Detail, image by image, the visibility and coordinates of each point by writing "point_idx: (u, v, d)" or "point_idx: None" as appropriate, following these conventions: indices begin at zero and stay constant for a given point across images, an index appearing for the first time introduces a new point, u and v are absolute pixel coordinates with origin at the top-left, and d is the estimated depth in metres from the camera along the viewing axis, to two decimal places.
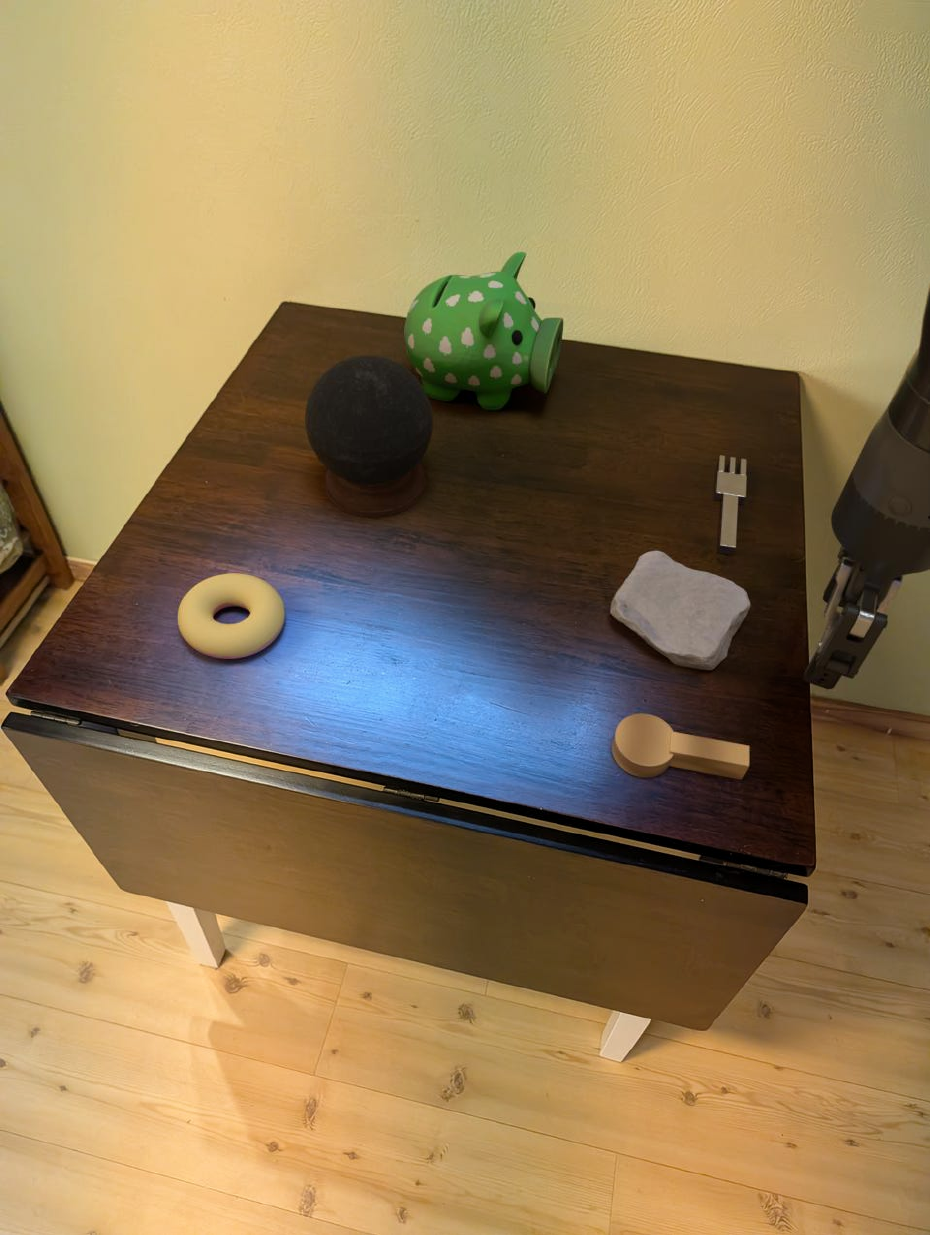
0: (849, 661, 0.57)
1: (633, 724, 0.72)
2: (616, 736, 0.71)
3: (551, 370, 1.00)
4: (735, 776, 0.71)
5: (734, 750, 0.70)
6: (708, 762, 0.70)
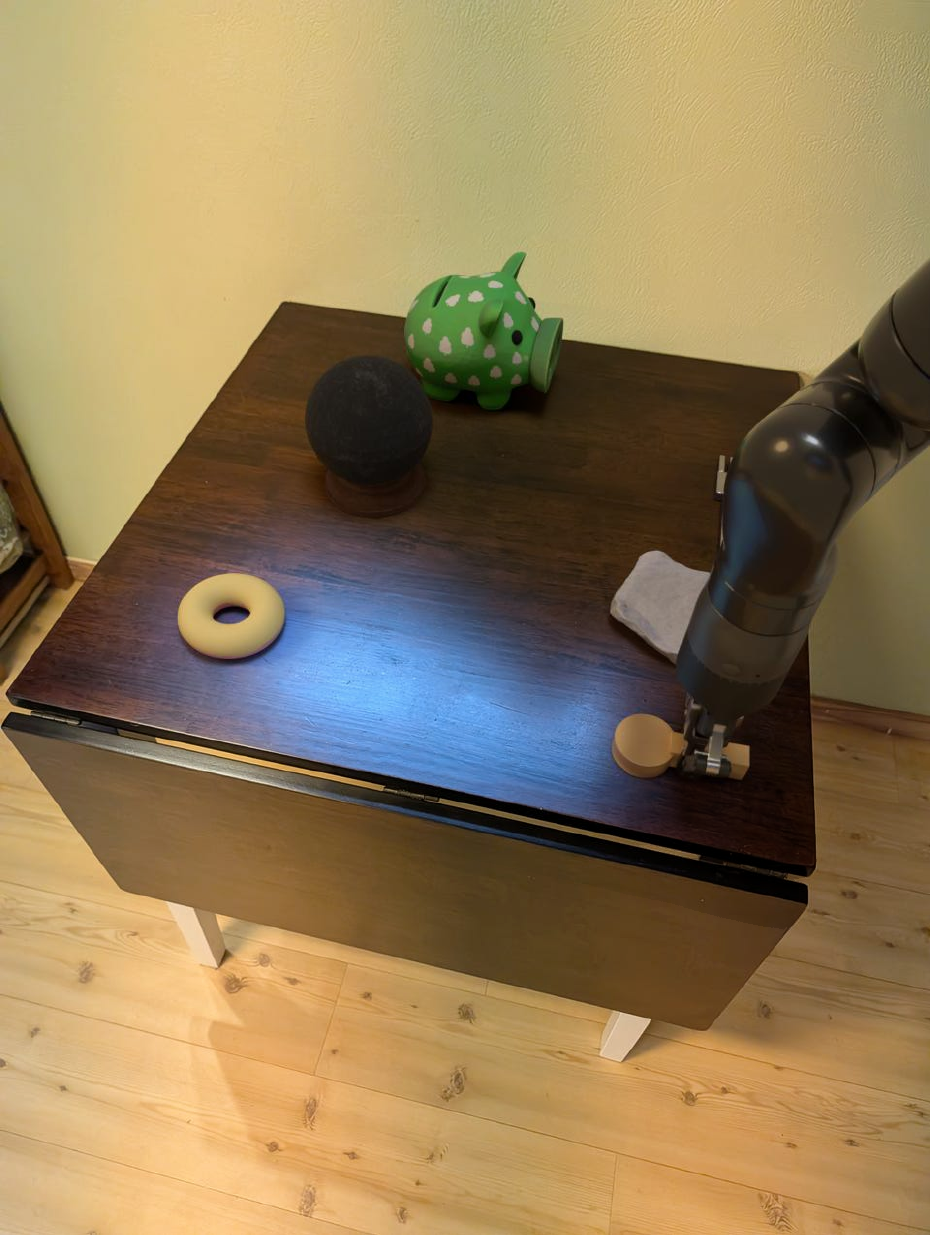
0: None
1: (633, 724, 0.72)
2: (615, 736, 0.71)
3: (551, 370, 1.00)
4: (735, 776, 0.71)
5: (734, 750, 0.70)
6: None
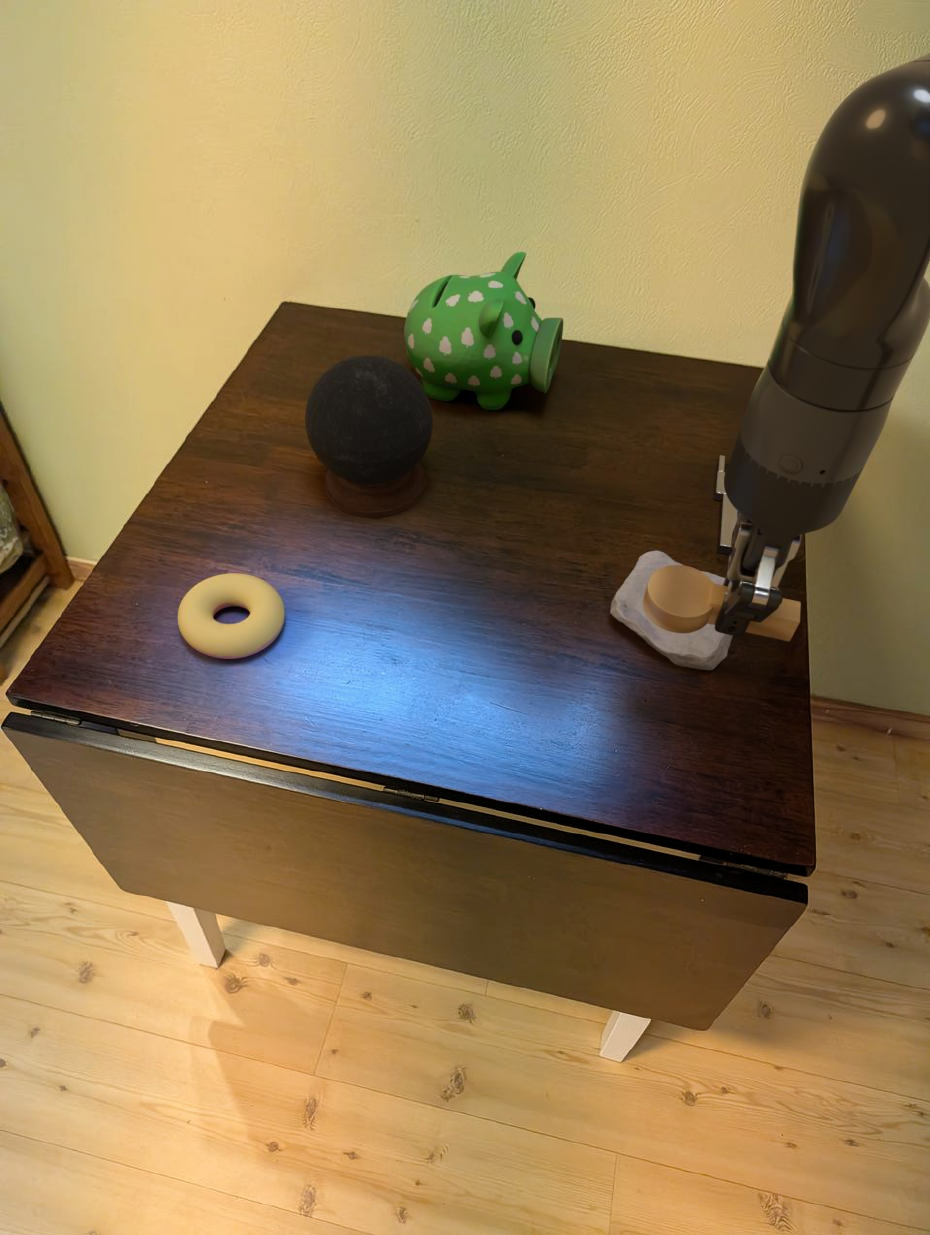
0: None
1: (669, 575, 0.64)
2: (648, 585, 0.63)
3: (551, 370, 1.00)
4: (782, 636, 0.62)
5: (783, 605, 0.62)
6: None
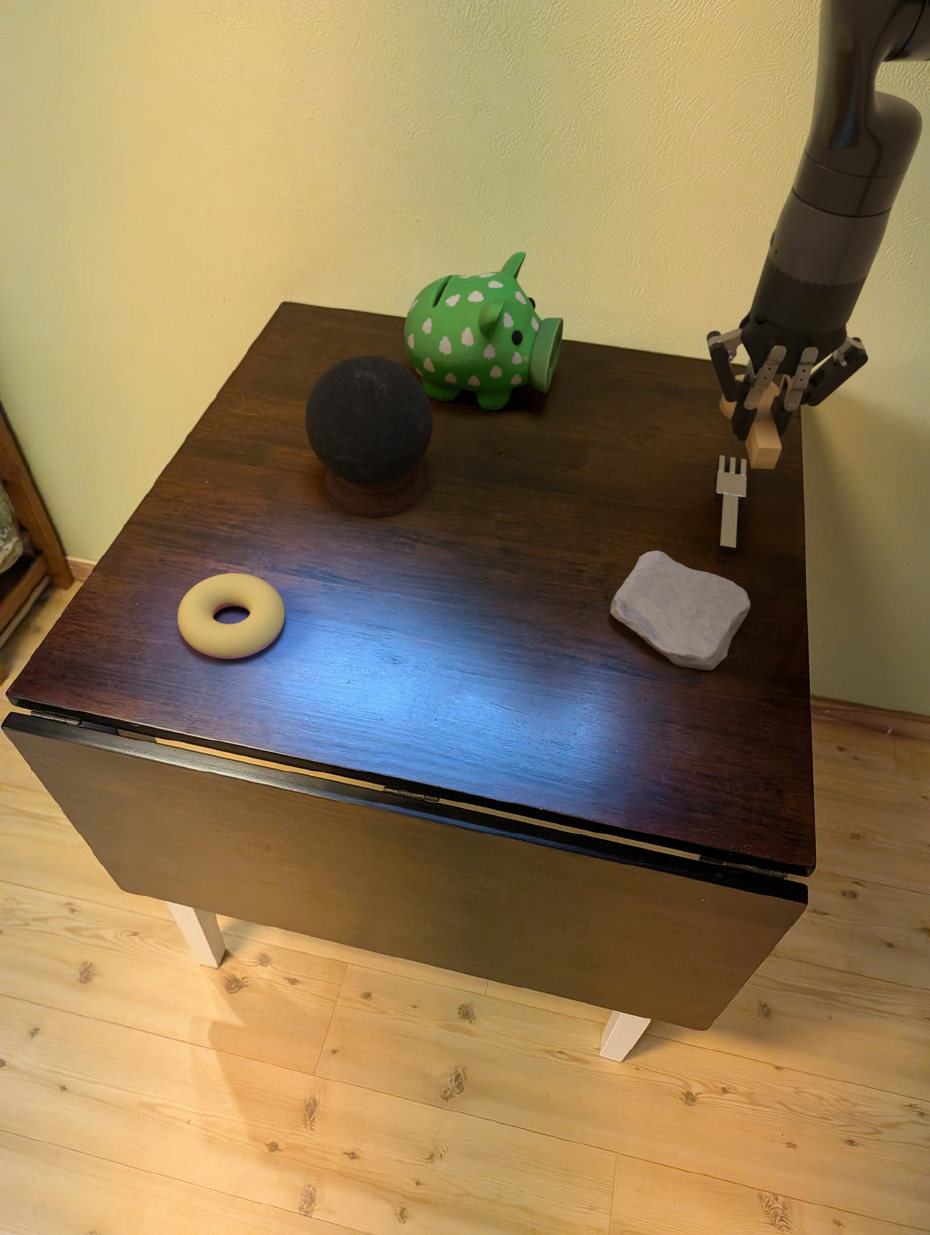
0: None
1: None
2: None
3: (551, 370, 1.00)
4: (751, 460, 0.74)
5: (771, 438, 0.73)
6: (751, 428, 0.75)
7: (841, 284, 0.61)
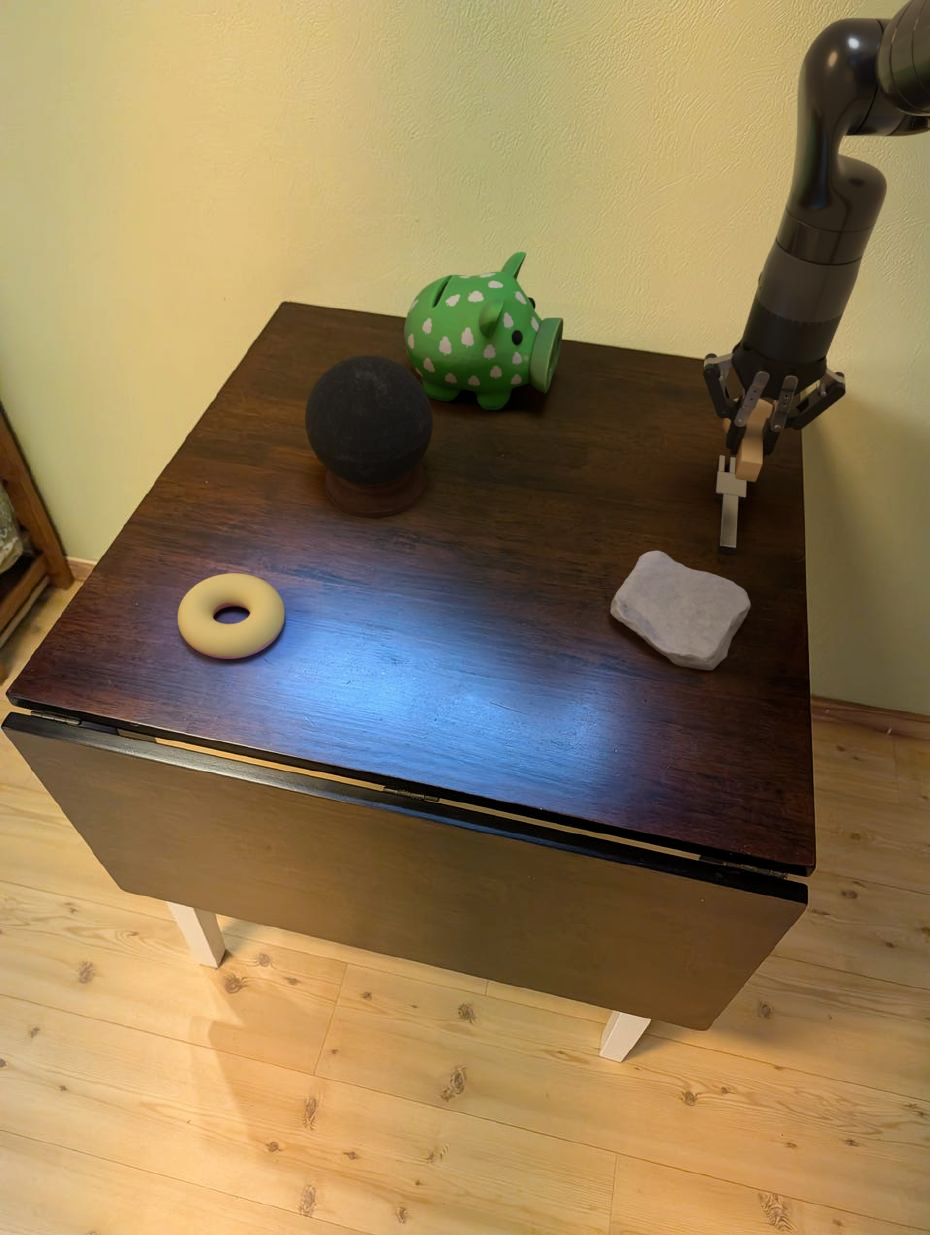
0: None
1: (765, 407, 0.87)
2: None
3: (551, 370, 1.00)
4: (736, 472, 0.83)
5: (754, 454, 0.82)
6: None
7: (811, 322, 0.70)
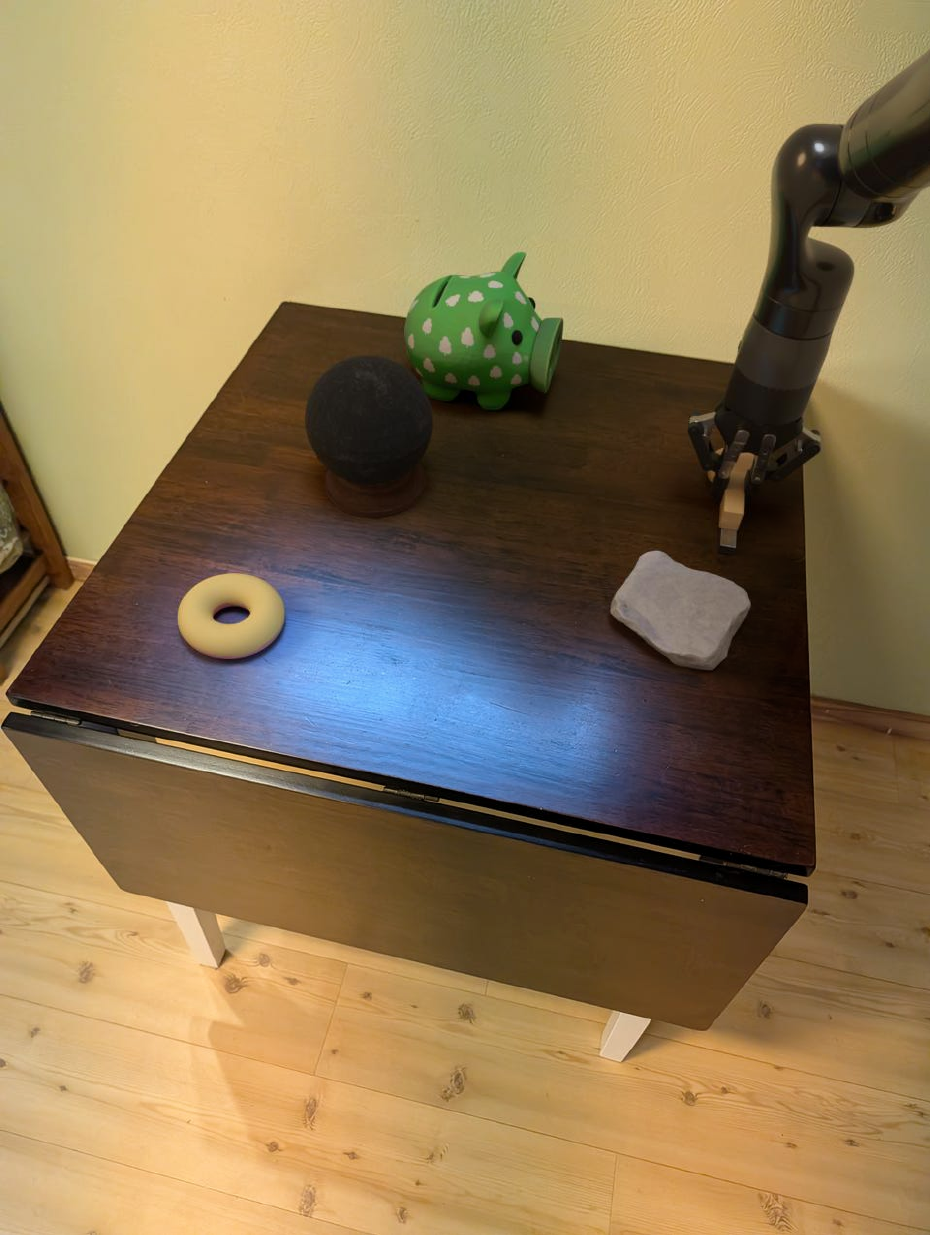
0: None
1: (747, 457, 0.92)
2: None
3: (551, 370, 1.00)
4: (719, 520, 0.89)
5: (736, 504, 0.87)
6: None
7: (787, 389, 0.75)
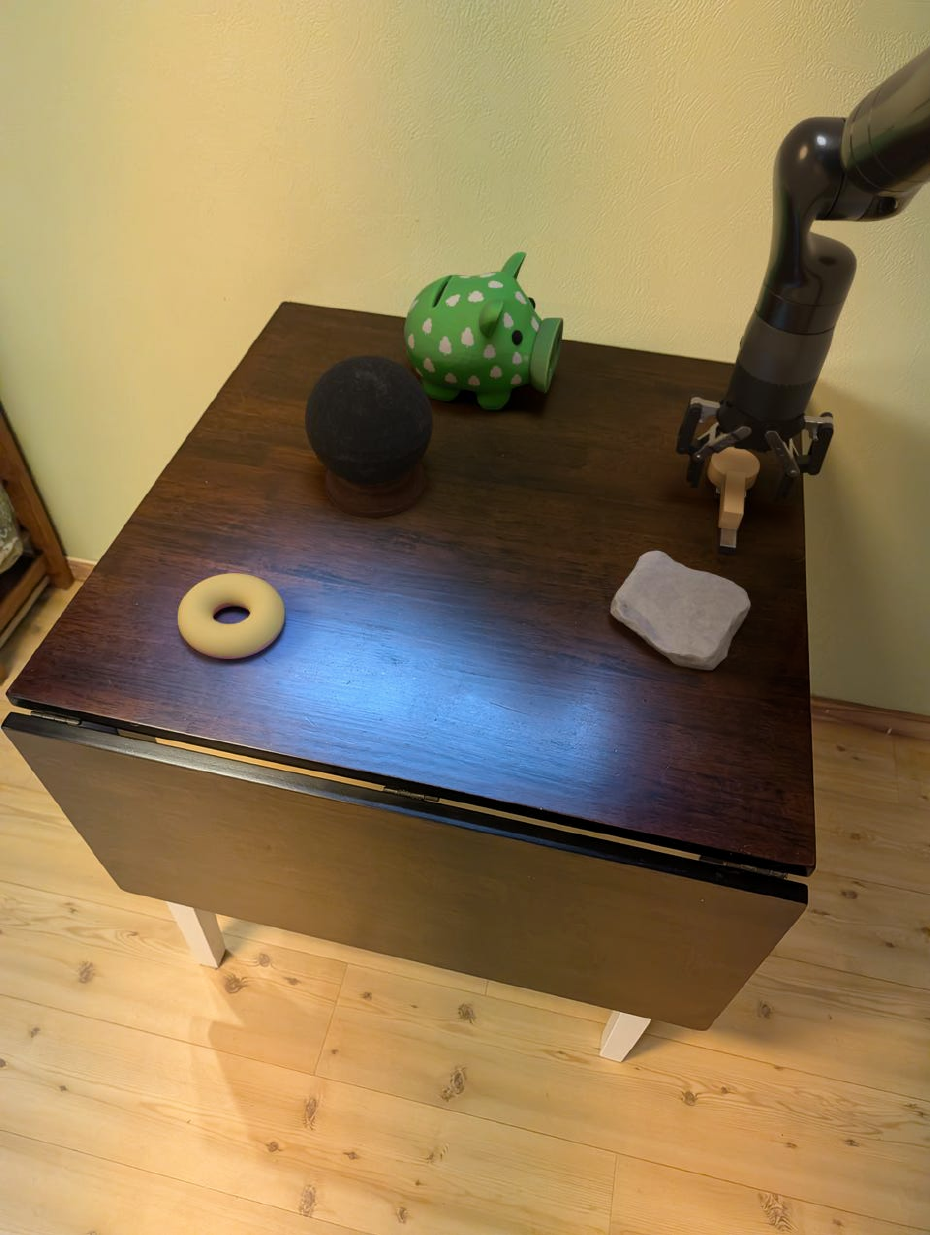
0: None
1: (747, 457, 0.92)
2: None
3: (551, 370, 1.00)
4: (719, 520, 0.89)
5: (736, 504, 0.87)
6: (723, 494, 0.89)
7: (789, 384, 0.75)
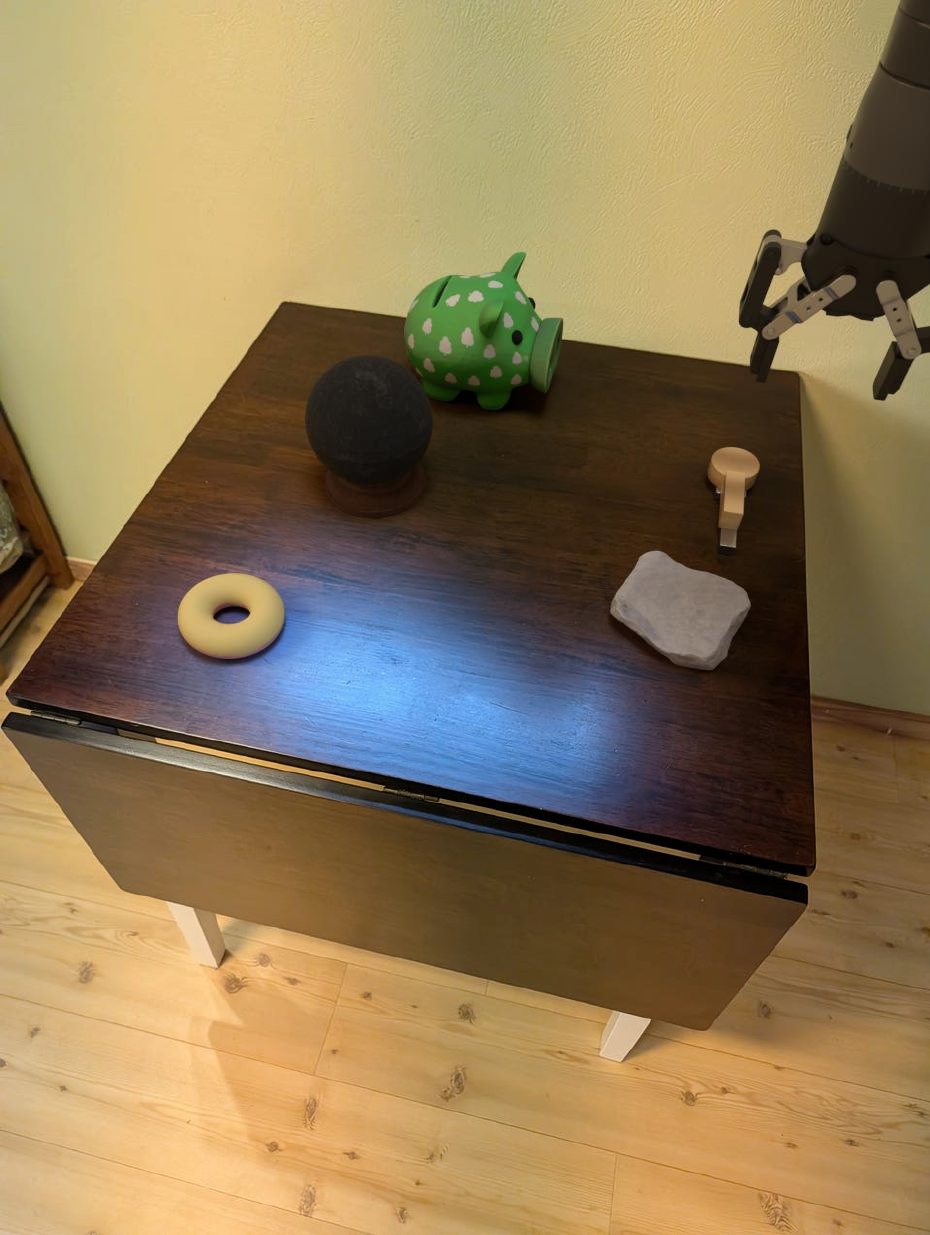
0: None
1: (747, 457, 0.92)
2: (734, 447, 0.94)
3: (551, 370, 1.00)
4: (719, 520, 0.89)
5: (736, 504, 0.87)
6: (723, 494, 0.89)
7: (929, 189, 0.48)
